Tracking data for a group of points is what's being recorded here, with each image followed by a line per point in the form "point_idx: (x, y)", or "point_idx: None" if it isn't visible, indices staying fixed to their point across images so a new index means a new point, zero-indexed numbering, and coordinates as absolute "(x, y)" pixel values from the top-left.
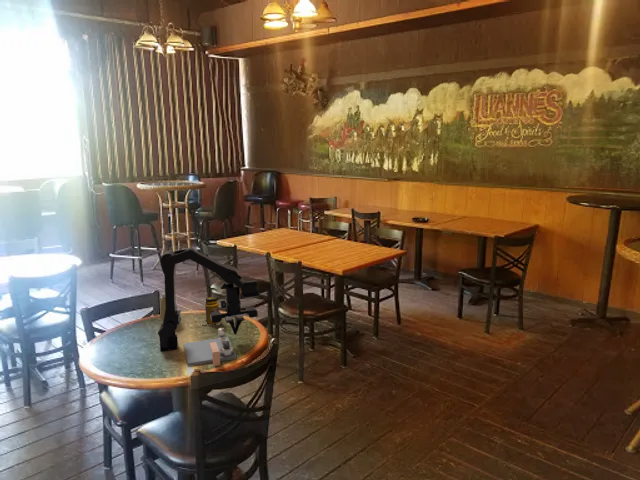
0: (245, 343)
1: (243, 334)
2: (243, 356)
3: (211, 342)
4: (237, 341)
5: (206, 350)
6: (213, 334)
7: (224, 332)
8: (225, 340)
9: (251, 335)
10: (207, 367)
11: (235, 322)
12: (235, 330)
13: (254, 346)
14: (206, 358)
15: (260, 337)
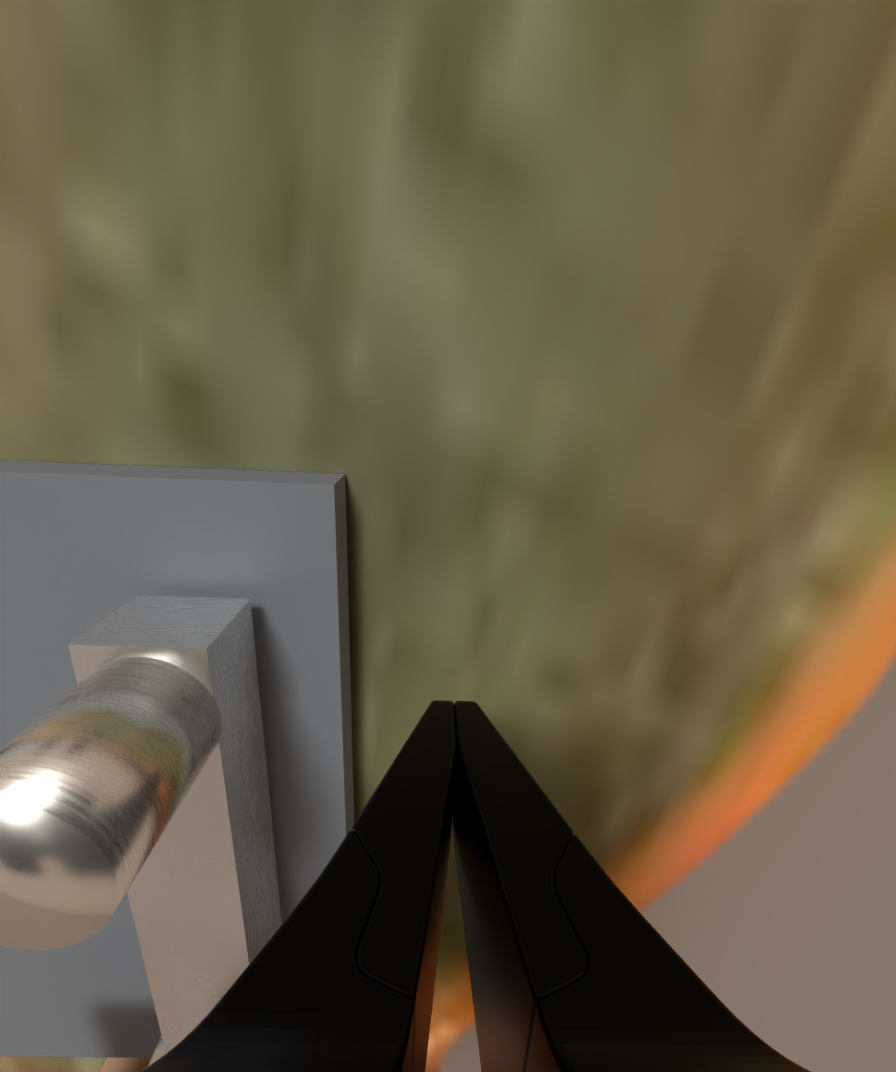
0: (569, 726)
1: (674, 349)
2: (441, 1000)
3: (23, 623)
4: (481, 616)
5: None
6: (55, 10)
7: (180, 797)
8: (224, 920)
9: (779, 467)
10: (67, 1069)
11: (519, 1055)
12: (457, 853)
13: (641, 845)
14: (14, 1027)
15: (859, 612)
